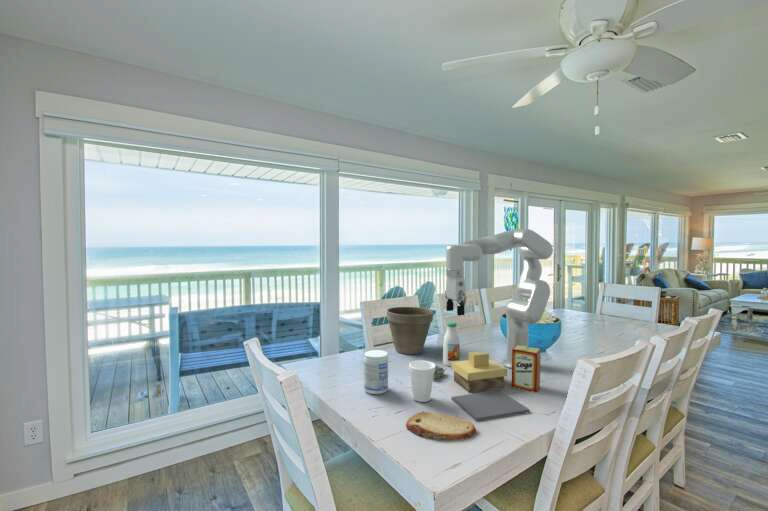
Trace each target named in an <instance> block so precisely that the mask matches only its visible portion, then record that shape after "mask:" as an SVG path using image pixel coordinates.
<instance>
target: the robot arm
mask: <svg viewBox="0 0 768 511" xmlns="http://www.w3.org/2000/svg"><path fill="white" fill-rule="evenodd" d="M515 248H518V254H519V256H520V257H521V261H522V266H523V268H522V270H521V274H520V276H519V279H518V282H517V284H516V286H515V287H516V288H515V293H516V294H517V296H519V297H521V298H524V299H520V298H512V299H510V300H508V301H507V302H506V305H505V306H504V307H505V308H504V309H505V311H504V313H505V316H506V317H505V318H506V359H504V360H503V362H502V366H503V367H505V368H507V369H511V370H512V349H513V348H514V347H515V346H516V345H520V346H528V347H529V331H530V330H529V325H528V324H533V325H534V324H537V323H539V322H540V321H541V319H542V317H543V315H544V313H545V310H546V307H547V304H548V302H549V300H550V295H551V287H550V285H549V283H548V282H547V281H545V280H541V275H542V272H543V268H542V264H541V262H540V260H547V259H549V258H551V257H552V255H553V253H554V248H553V245H552V244H551V242H550V241H548V240H547V239H546V238H545V237H543V236H542V235H540V234H539V233H538V232H536V231H534V230H533V229H530V228H513V229H509V230H506V231H502V232H500V233H496V234H493V235H488V236H484V237H480V238H477V239H472V240H469V241H465V242H462V243H459V244H449V245H447V246H446V248H445V261H446V262H445V270H446V271H445V273H446V275H445V276H446V280H445V281H446V283H445V284H446V285H445V291H444V294H445V302H446V312H451V311H452V312H453V311H454V301H455V302H456V303H457V306H456V315H457V316H459V317H460V316H465V312H466V311H465V307H466V302H467V290H466V281H465V262H471V263H472V262H478V261H479V260H481V259H482V257H483V256H484V255H495V254H500V253H501V254H502V253H503V252H506V251H510V250H513V249H515ZM525 299H528V300H525Z"/></svg>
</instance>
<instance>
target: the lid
mask: <svg viewBox="0 0 768 511" xmlns="http://www.w3.org/2000/svg"><path fill="white" fill-rule="evenodd" d="M450 368H451V370H452V371H453V372H454V371H455V372H456V373H458V374H459V375H461V376H462V377H464V378H465V379H466V380H468V381H472V380H480V379H487V378H495V377H503V376H504V377H507V376H508V367H506V366H504V365H501V364H499V363H498V362H496V361H494V360H492V359H490V354H489V352H486V351H484V350H482V351H481V350H480V351H469V352H468V359H467V360H459V361H456V362H452V364H451V366H450Z"/></svg>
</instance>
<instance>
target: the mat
mask: <svg viewBox="0 0 768 511" xmlns="http://www.w3.org/2000/svg"><path fill="white" fill-rule="evenodd" d="M451 400H452V402H454V403H455V404H456V405H457V406H458V407H460V408H461V409H462V410H463V411H464V412H467V413H466V414H467V415H468V416H470V417H471V418H472V419H473V420H475V422H480V421H481V422H482V421H486V420H491V419H492V420H493V419H498V418H504V417H509V416H515V414H517V415H520V414H521V415H522V414H526V412H528V413H530V409H529V408H528V407H526V406H525V405H524V404H522V403H520V402H519V401H517V400H516V399H514V398H513V397H511V396H510V395H508V394H507V393H505V392H503V391H502V390H501V389H497V390H496V389H495V390H490V391H489V390H488V391H484V392H483V391H481V392H474V393H468V394H461V395H456V396H455V395H454V396H451Z"/></svg>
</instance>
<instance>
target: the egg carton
mask: <svg viewBox="0 0 768 511" xmlns="http://www.w3.org/2000/svg"><path fill="white" fill-rule="evenodd" d="M435 366H436V369H435V372H434V375H433V381H435V380H436V379H440V377H444V376H445V372H446V368H443V367H441V366H439V365H436V364H435Z"/></svg>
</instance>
